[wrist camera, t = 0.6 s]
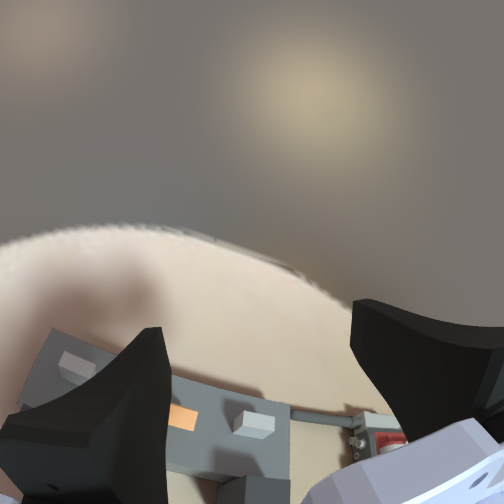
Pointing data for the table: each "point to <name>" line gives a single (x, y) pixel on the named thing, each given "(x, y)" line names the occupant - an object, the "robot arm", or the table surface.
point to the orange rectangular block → (182, 417)
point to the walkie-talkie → (362, 431)
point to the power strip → (189, 395)
